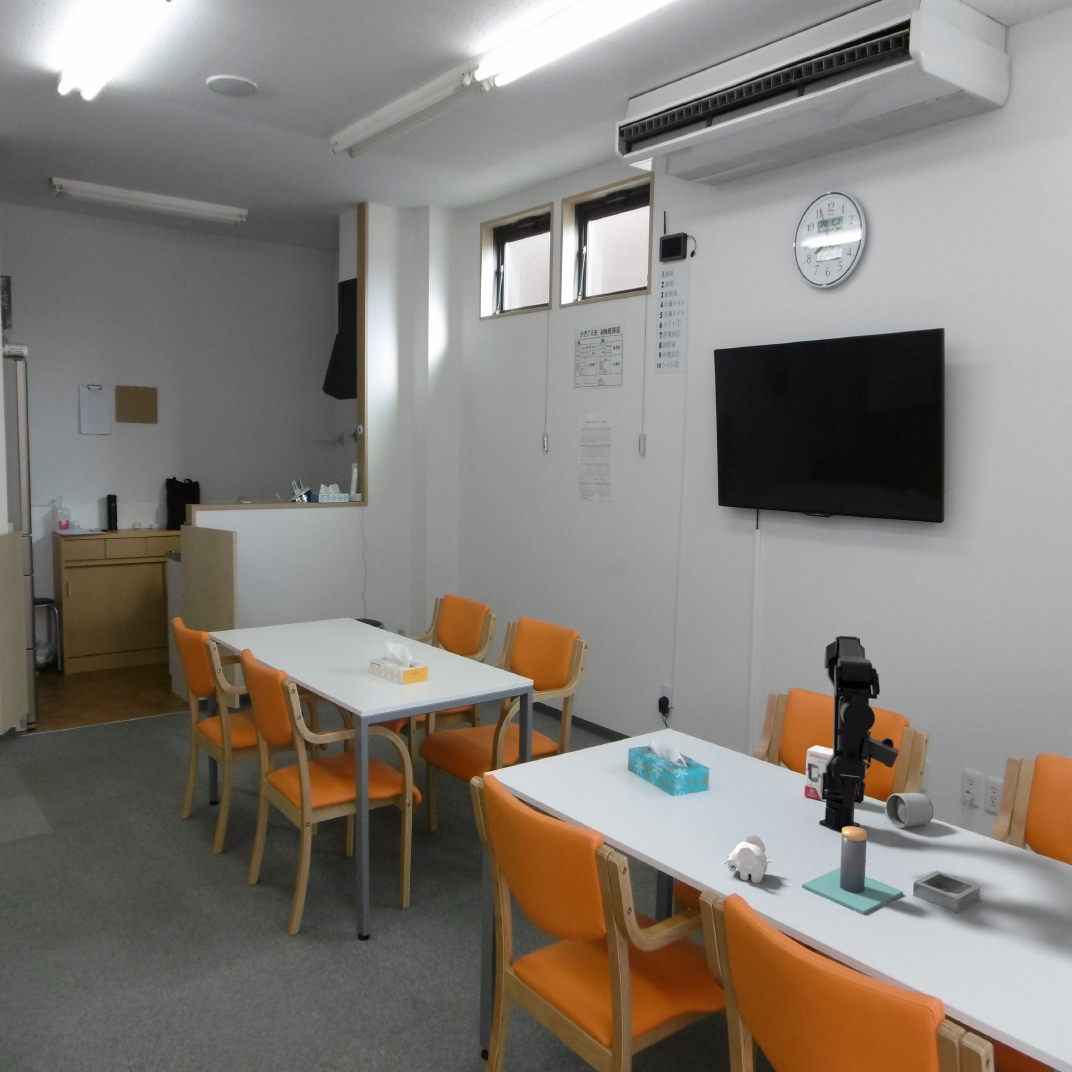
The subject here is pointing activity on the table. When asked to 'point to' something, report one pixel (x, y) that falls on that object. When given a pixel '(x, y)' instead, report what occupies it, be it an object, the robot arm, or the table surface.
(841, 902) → the teal mat
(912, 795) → the ceramic mug
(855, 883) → the grey orange domed cylinder
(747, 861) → the elephant figurine
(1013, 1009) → the table surface
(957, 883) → the collar
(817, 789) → the ink box
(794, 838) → the table surface
